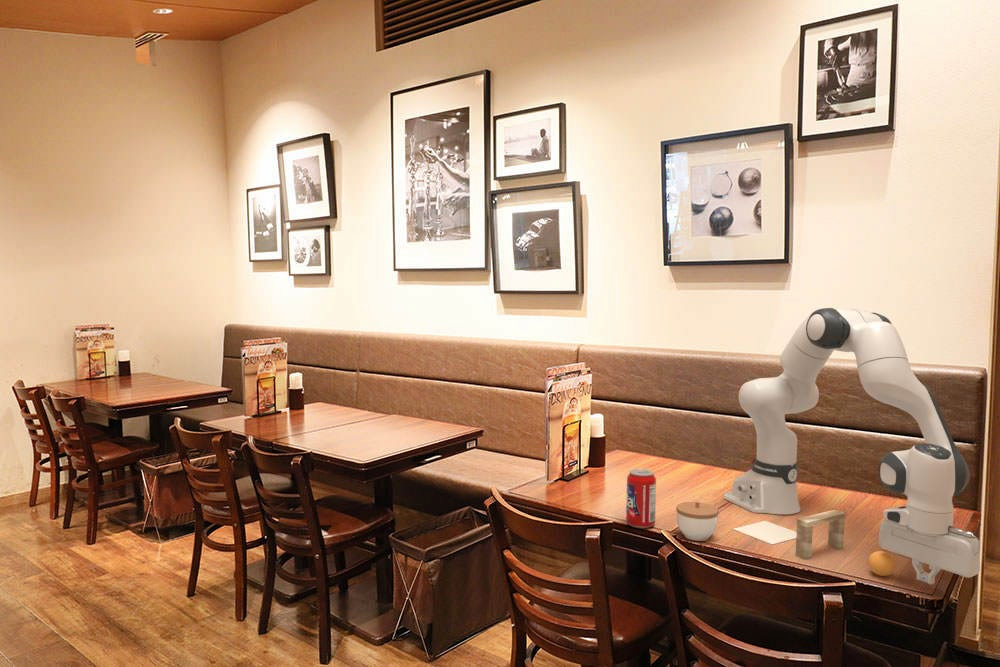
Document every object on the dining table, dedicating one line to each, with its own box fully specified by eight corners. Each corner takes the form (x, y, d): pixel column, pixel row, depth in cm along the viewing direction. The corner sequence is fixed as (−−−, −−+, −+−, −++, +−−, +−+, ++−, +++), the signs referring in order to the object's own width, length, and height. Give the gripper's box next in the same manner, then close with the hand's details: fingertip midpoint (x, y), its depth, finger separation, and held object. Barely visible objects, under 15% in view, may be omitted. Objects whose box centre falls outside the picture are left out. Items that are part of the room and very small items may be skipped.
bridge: (795, 555, 179) (797, 519, 178) (832, 544, 186) (834, 509, 186) (806, 559, 177) (807, 522, 176) (843, 548, 184) (845, 512, 183)
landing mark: (732, 529, 197) (732, 528, 197) (765, 521, 204) (765, 520, 204) (772, 545, 186) (772, 544, 186) (805, 536, 192) (805, 535, 192)
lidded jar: (726, 538, 190) (727, 503, 190) (699, 547, 184) (700, 511, 183) (693, 526, 199) (694, 493, 198) (667, 534, 193) (667, 500, 192)
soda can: (655, 530, 196) (657, 476, 194) (626, 529, 197) (627, 474, 196) (654, 521, 203) (655, 468, 202) (625, 519, 205) (626, 467, 203)
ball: (862, 573, 169) (863, 550, 168) (877, 568, 171) (878, 545, 171) (885, 581, 164) (886, 558, 164) (899, 576, 167) (901, 553, 166)
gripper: (988, 532, 150) (984, 597, 152) (892, 504, 168) (889, 563, 169) (972, 537, 147) (968, 603, 148) (876, 509, 165) (873, 568, 166)
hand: (925, 581), depth 159 cm, fingers closed
